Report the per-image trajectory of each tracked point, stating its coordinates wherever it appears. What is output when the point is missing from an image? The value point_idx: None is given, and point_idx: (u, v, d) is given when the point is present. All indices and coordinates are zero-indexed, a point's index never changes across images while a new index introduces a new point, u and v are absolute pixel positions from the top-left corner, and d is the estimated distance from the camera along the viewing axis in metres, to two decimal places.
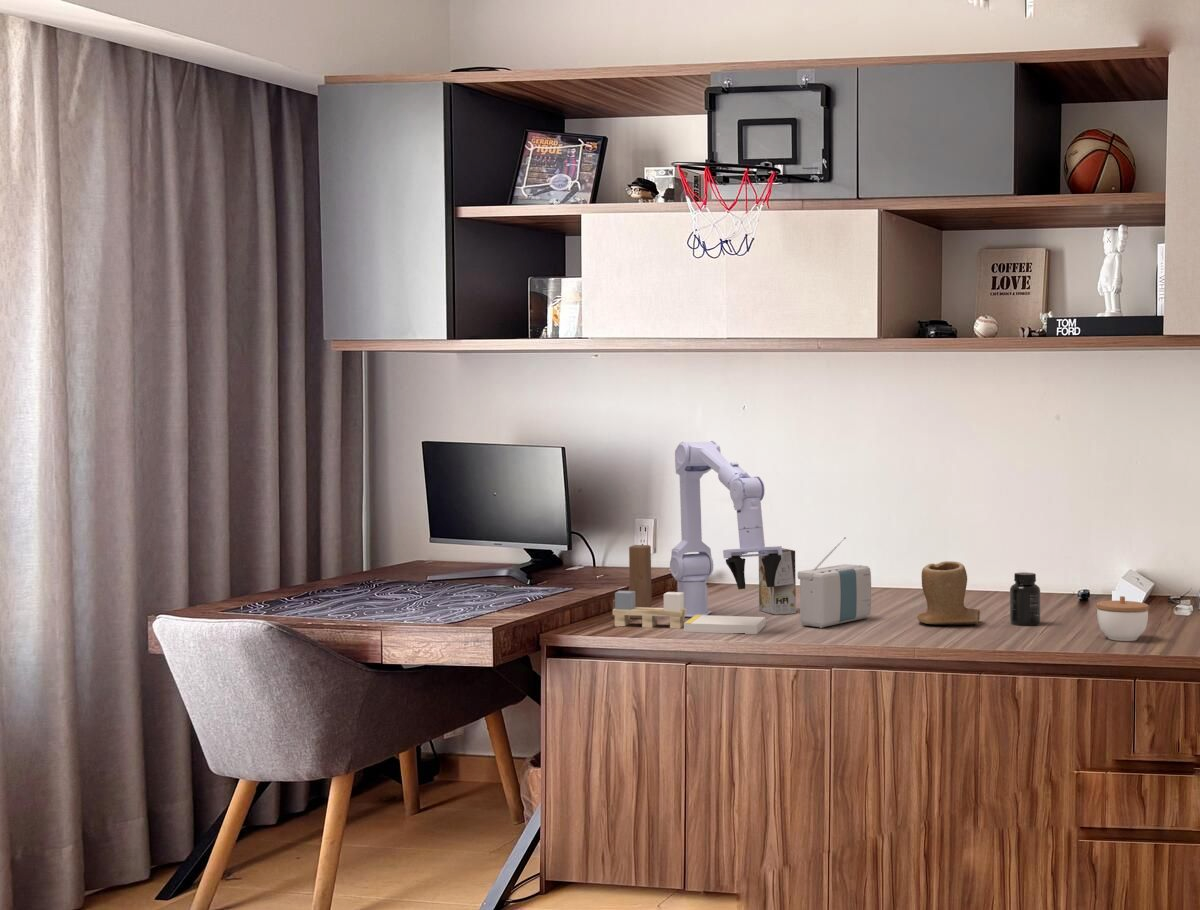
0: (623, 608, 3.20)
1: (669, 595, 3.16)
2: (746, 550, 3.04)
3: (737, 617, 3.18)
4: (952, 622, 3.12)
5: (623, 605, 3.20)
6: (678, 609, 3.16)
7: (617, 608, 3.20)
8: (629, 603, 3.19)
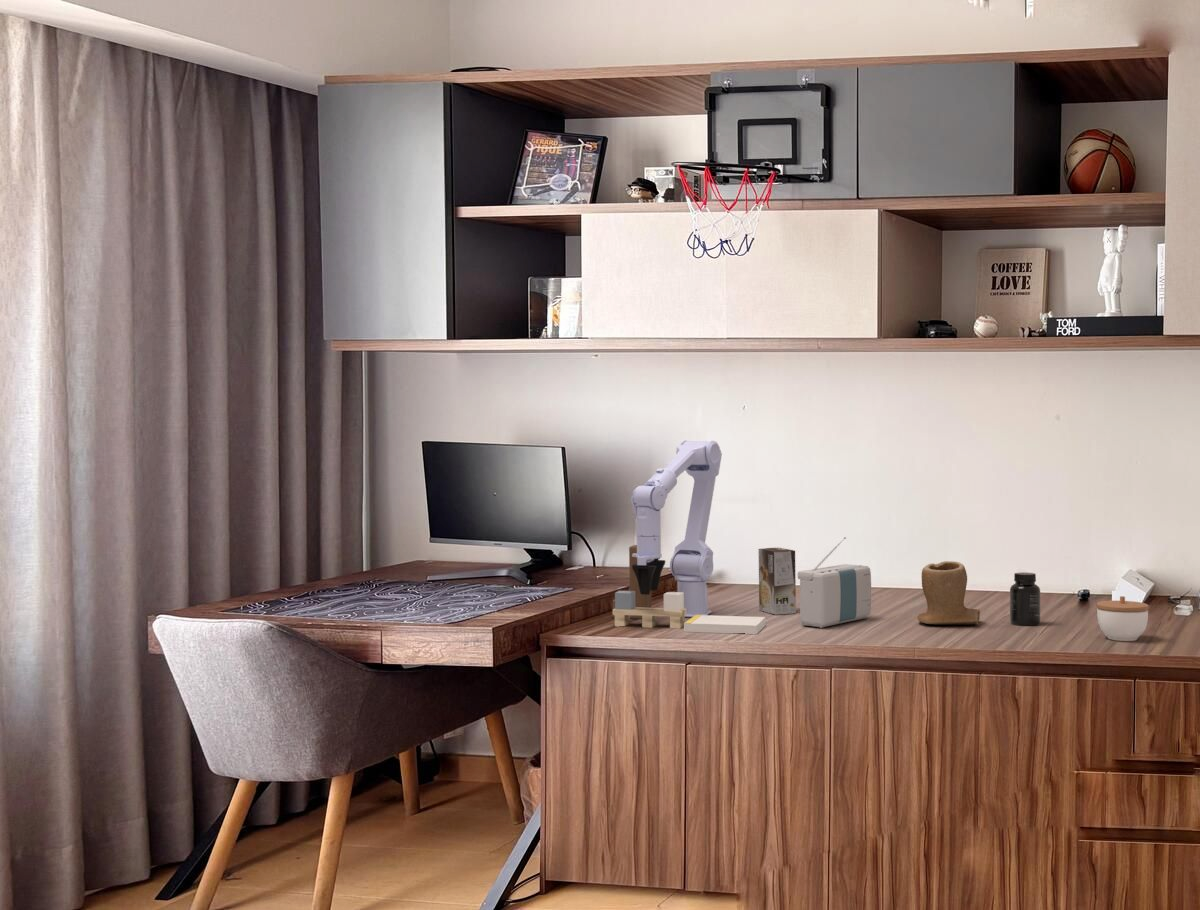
0: (623, 608, 3.20)
1: (669, 595, 3.16)
2: None
3: (737, 617, 3.18)
4: (952, 622, 3.12)
5: (623, 605, 3.20)
6: (678, 609, 3.16)
7: (617, 608, 3.20)
8: (629, 603, 3.19)
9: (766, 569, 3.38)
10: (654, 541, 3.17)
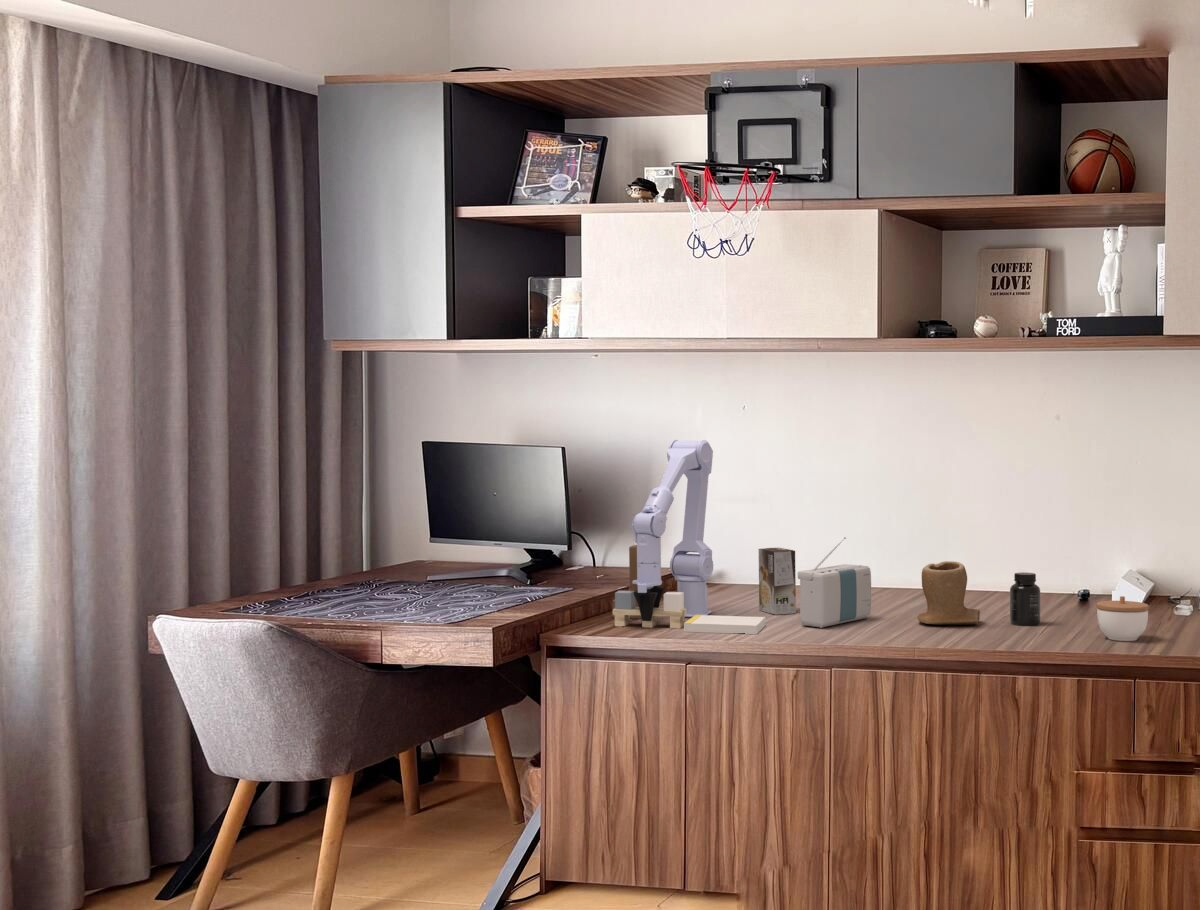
0: (623, 608, 3.20)
1: (669, 595, 3.16)
2: None
3: (737, 617, 3.18)
4: (952, 622, 3.12)
5: (623, 605, 3.20)
6: (678, 609, 3.16)
7: (617, 608, 3.20)
8: (629, 603, 3.19)
9: (766, 569, 3.38)
10: (654, 568, 3.17)
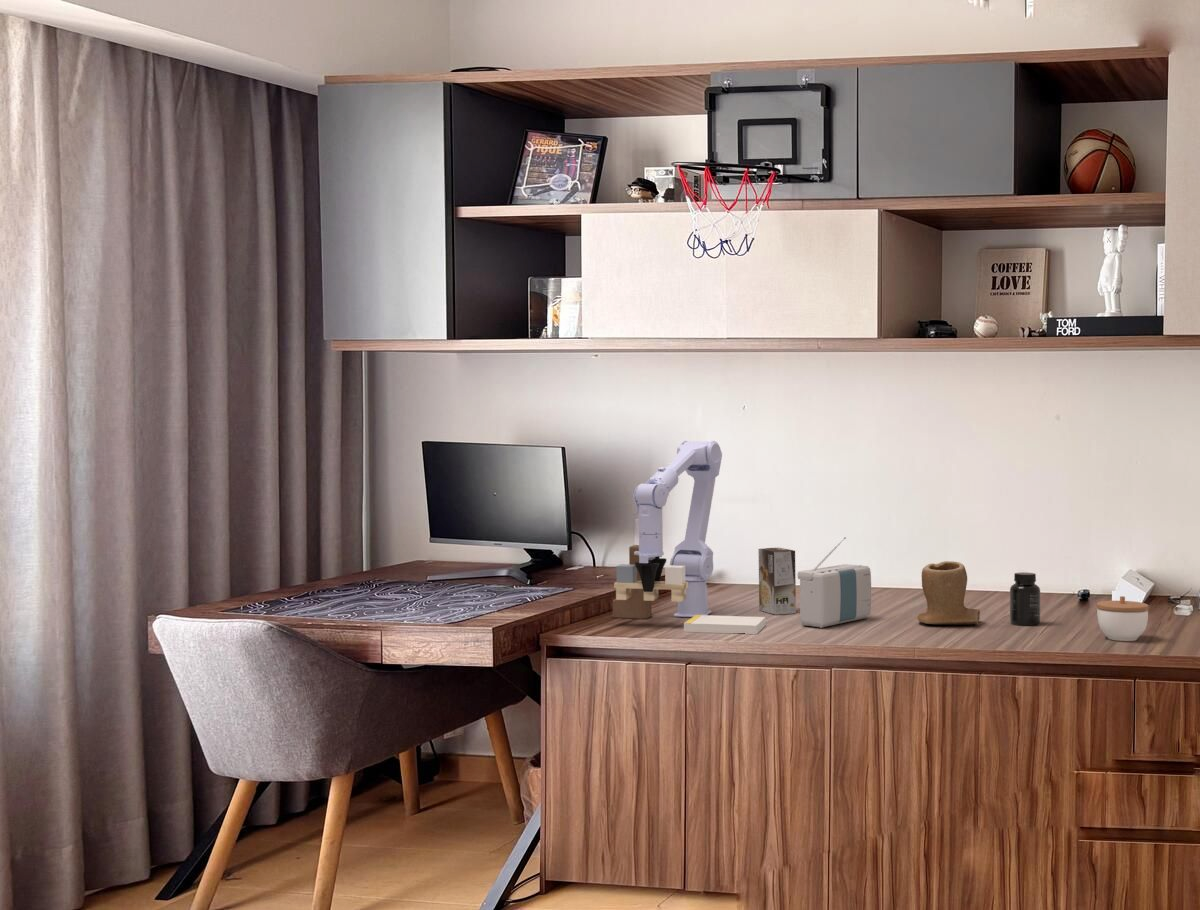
0: (624, 581, 3.19)
1: (670, 568, 3.16)
2: None
3: (737, 617, 3.18)
4: (952, 622, 3.12)
5: (624, 579, 3.19)
6: (679, 582, 3.16)
7: (618, 581, 3.20)
8: (630, 576, 3.19)
9: (766, 569, 3.38)
10: (656, 539, 3.17)
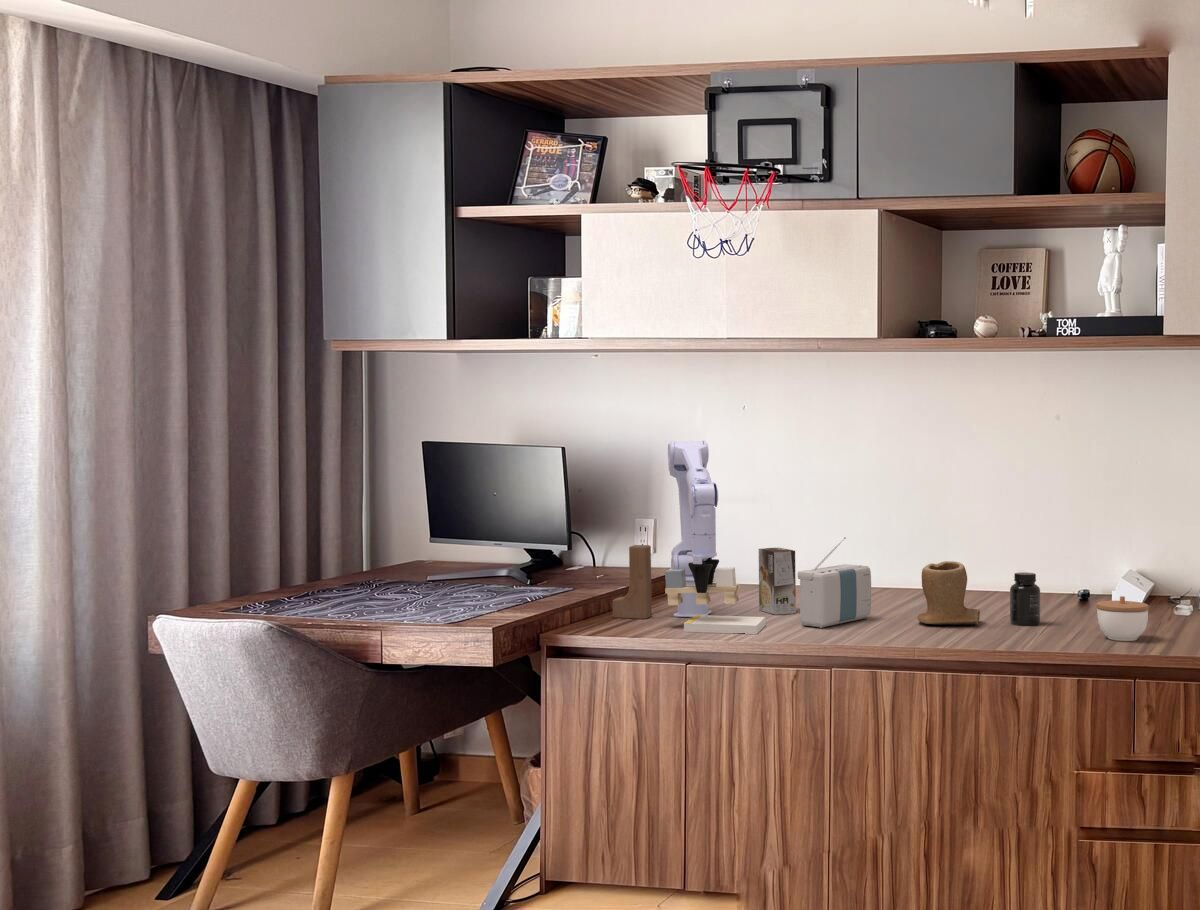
0: (674, 586, 3.16)
1: (721, 570, 3.13)
2: None
3: (737, 617, 3.18)
4: (952, 622, 3.12)
5: (673, 584, 3.16)
6: (731, 584, 3.12)
7: (668, 587, 3.16)
8: (680, 581, 3.15)
9: (766, 569, 3.38)
10: (709, 540, 3.13)
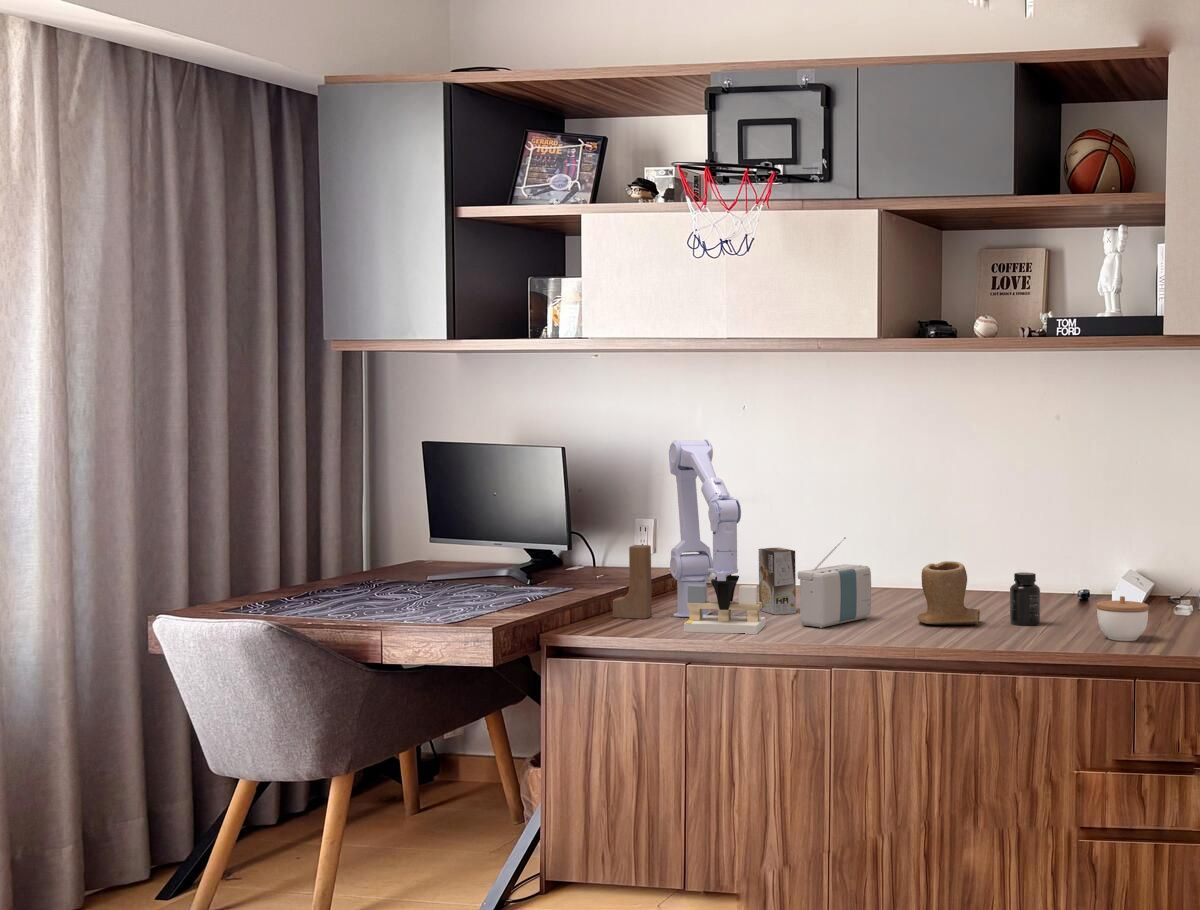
0: (696, 602, 3.14)
1: (744, 588, 3.12)
2: None
3: (737, 617, 3.18)
4: (952, 622, 3.12)
5: (696, 599, 3.14)
6: (754, 602, 3.11)
7: (690, 602, 3.14)
8: (702, 596, 3.14)
9: (766, 569, 3.38)
10: (732, 556, 3.12)
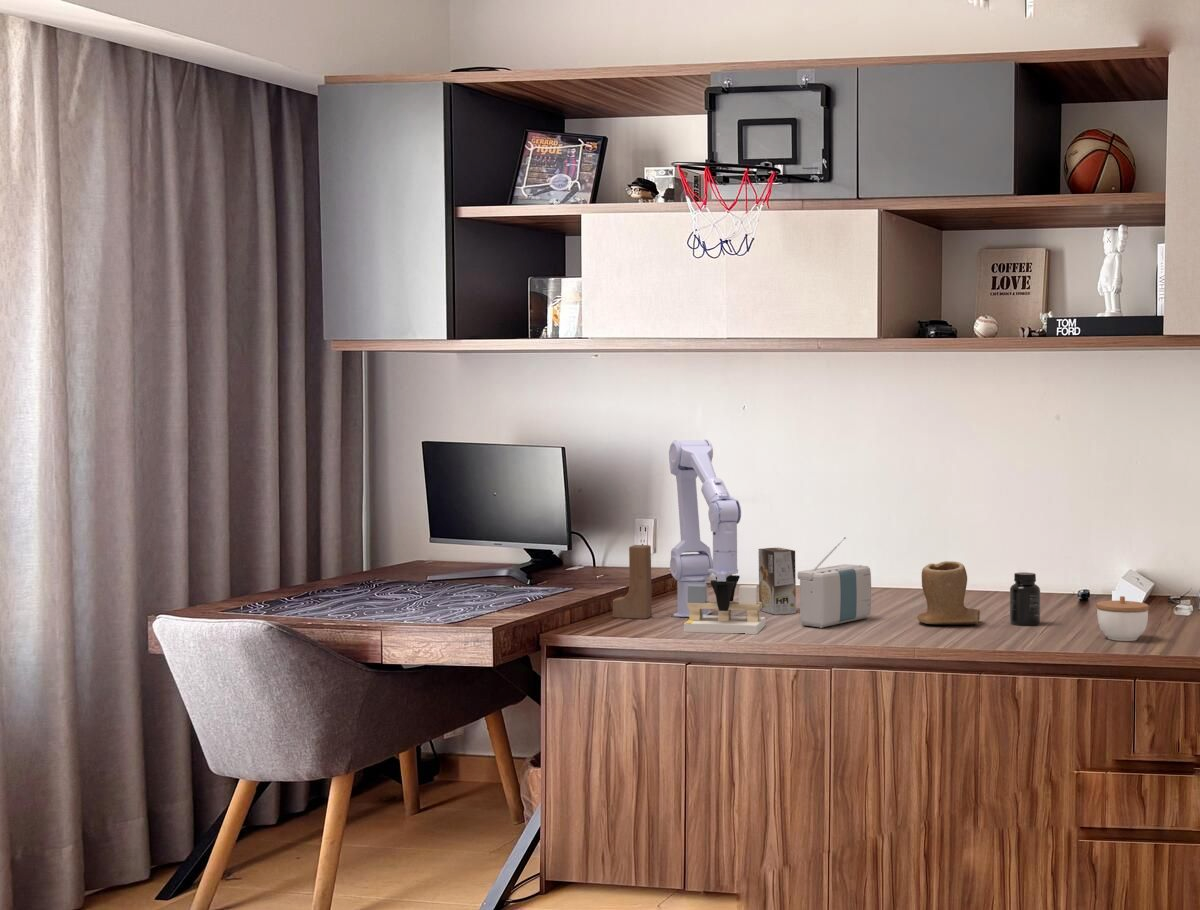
0: (696, 602, 3.14)
1: (744, 588, 3.12)
2: None
3: (737, 617, 3.18)
4: (952, 622, 3.12)
5: (696, 599, 3.14)
6: (754, 602, 3.11)
7: (690, 602, 3.14)
8: (702, 596, 3.14)
9: (766, 569, 3.38)
10: (732, 556, 3.12)
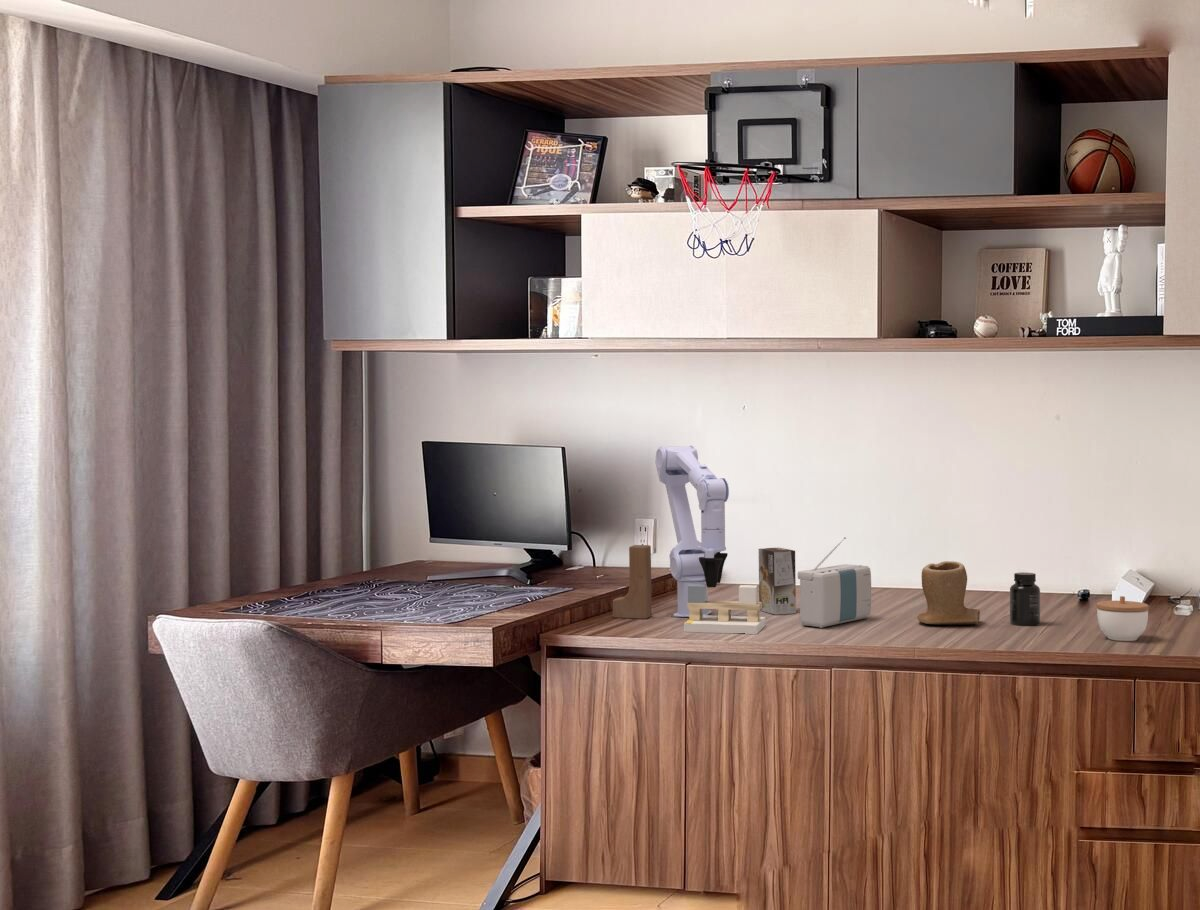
0: (696, 601, 3.14)
1: (744, 588, 3.12)
2: None
3: (737, 617, 3.18)
4: (952, 622, 3.12)
5: (696, 599, 3.14)
6: (754, 602, 3.11)
7: (690, 602, 3.14)
8: (703, 596, 3.14)
9: (766, 569, 3.38)
10: (720, 534, 3.19)
